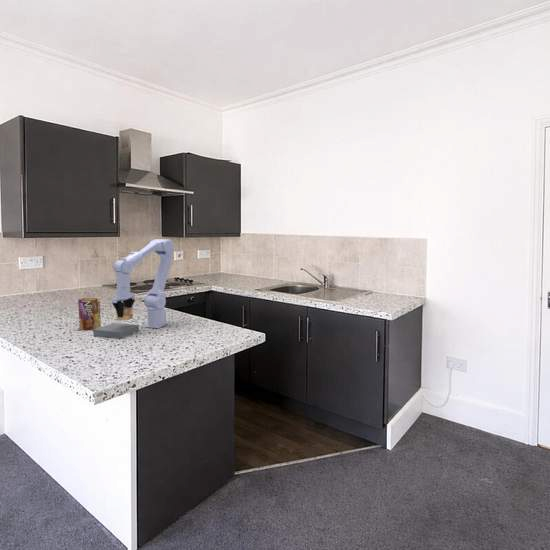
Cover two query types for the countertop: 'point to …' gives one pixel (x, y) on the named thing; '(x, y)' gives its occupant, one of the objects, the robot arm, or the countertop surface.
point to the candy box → (89, 313)
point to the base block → (116, 330)
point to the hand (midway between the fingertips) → (124, 315)
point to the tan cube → (126, 314)
